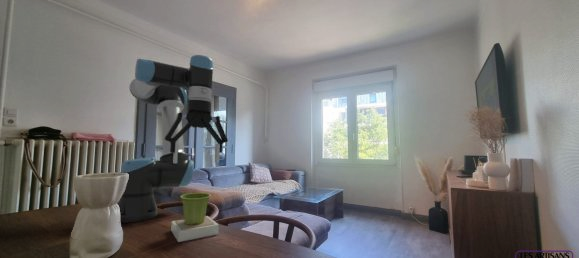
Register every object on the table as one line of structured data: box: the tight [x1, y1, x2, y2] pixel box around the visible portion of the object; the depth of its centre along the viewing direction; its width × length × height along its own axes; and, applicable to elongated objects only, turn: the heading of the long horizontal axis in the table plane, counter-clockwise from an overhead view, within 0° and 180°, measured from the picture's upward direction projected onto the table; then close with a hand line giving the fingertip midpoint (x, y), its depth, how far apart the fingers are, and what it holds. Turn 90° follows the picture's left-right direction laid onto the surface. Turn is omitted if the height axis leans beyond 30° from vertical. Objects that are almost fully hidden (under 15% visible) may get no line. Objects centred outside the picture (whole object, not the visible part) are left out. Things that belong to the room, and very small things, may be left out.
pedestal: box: [170, 215, 220, 243], centre depth 79 cm, size 12×12×3 cm
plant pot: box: [180, 192, 211, 225], centre depth 79 cm, size 9×9×9 cm
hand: (196, 162), depth 81 cm, fingers open, 13 cm apart
